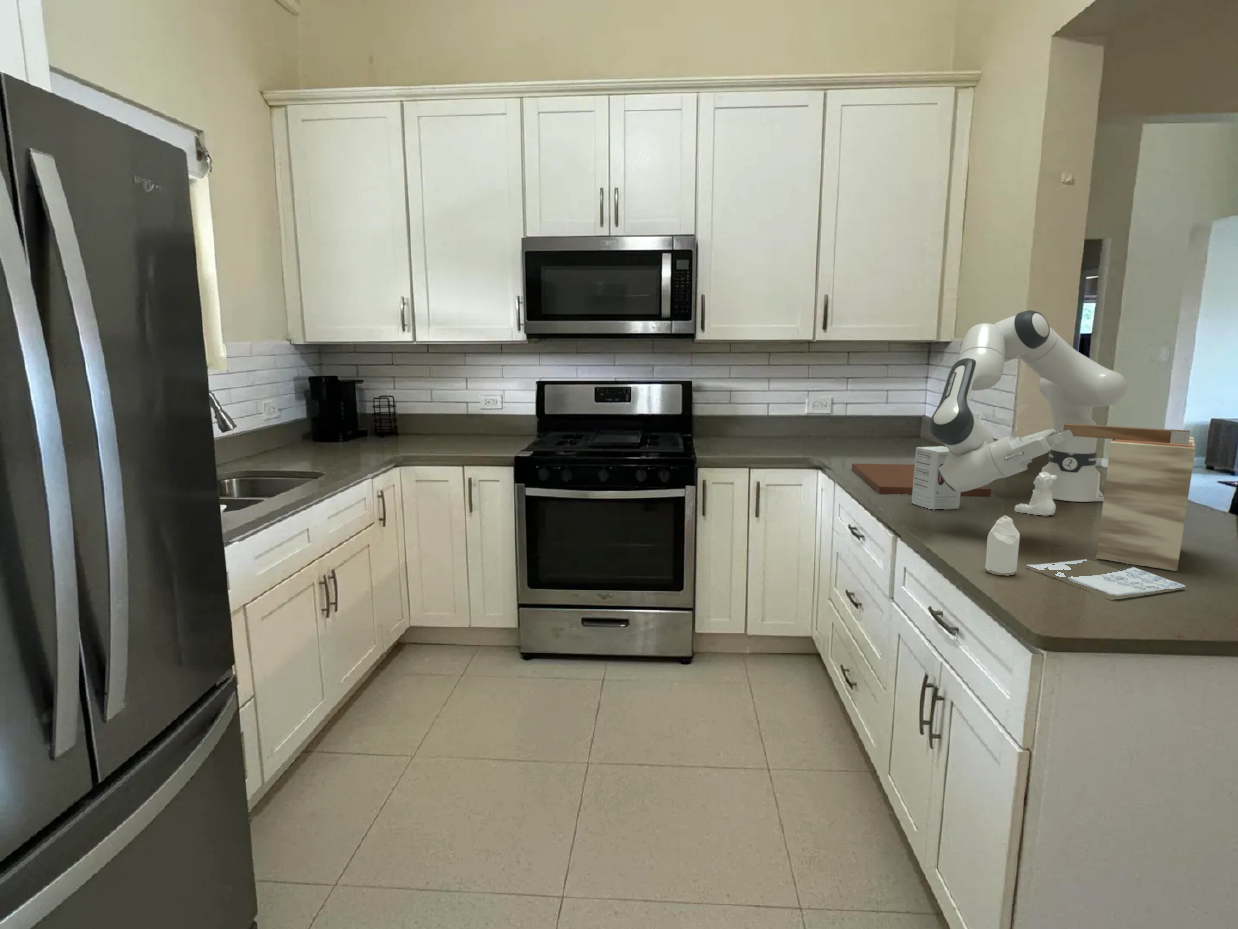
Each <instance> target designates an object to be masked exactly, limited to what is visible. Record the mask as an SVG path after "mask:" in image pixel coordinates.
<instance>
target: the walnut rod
mask: <svg viewBox="0 0 1238 929" xmlns="http://www.w3.org/2000/svg"><path fill="white" fill-rule="evenodd" d="M1066 430H1071V431H1072V433H1073V436H1077V437H1091V438H1097V439H1106V440H1107V439H1108V440H1113V439H1119V440H1133V441H1147V442H1161V443H1171V444H1185V445H1188V444H1189V437H1191V432H1190V431H1191V430H1185V429H1166V428H1150V427H1137V426H1136V427H1135V426H1133V427H1132V426H1120V425H1119V426H1118V425H1102V424H1097V425H1088V424H1072V423H1065V424H1064V430H1063V432H1064V431H1066Z"/></svg>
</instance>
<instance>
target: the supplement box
mask: <svg viewBox="0 0 1238 929" xmlns="http://www.w3.org/2000/svg"><path fill="white" fill-rule="evenodd" d="M948 453H949V449H948V448H947V447H946V446H945V445H944V446H943V445H940V446H921V447H920V446H917V447H915V458H914V465H915V468H914V480H913V491H912V495H911V504H912V503H913V505H916V506H919V507H922V508H924V507H925V508H924V509H927V508H928V510H930V509H933V510H932V511H935V510H934V509H944V510H954V509H957V510H958V509H960V502H961V496H960V495H961V492H955V491H953V490H952V489H951V488H950V487H948V485H947V484H946V483H945V481H944V480H943V479H942V477H941V475H940V472H939V468H940V467H941V466H942V465H943V464H944V463H945V461H946V459H947V456H948Z"/></svg>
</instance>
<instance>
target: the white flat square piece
mask: <svg viewBox="0 0 1238 929" xmlns="http://www.w3.org/2000/svg"><path fill="white" fill-rule="evenodd" d="M1087 559H1088V558H1085V559H1078V560H1071V561H1070V560H1069V561H1068V560H1067V561H1060V562H1050V563H1039V564H1026V565H1027V566H1030V567H1033V568H1036V569H1038V570H1045V569H1044V568H1047V567H1048V569H1049V570H1063V569H1064V570H1071V568H1070V567H1069V566H1067V565H1065V564H1077V563H1082V562H1083V561H1087ZM1052 564H1055V565H1052ZM1122 570H1123V571H1118V572H1112V573H1107V574H1101V575H1092V576H1079V577H1073V576H1071V577H1068V580H1070V581H1072V582H1074V583H1078V584H1081V585H1084V586H1087V587H1090V588H1093V589H1098V590H1100V591H1103V592H1105V593H1107V594H1109V595H1115V596H1122V595H1133V594H1142V593H1149V592H1155V591H1160V590H1164V589H1176V588H1181V589H1183V588H1182V587H1186V585H1184V584H1182V583H1180V582H1177V581H1174V580H1170V579H1167V578H1166V577H1164V576H1163V577H1162V576H1159V575H1156V574H1154V573H1151V572H1148V571H1145V570H1142V569H1139V568H1137V567H1135V566H1132V567H1130V568H1126V569H1122ZM1057 572H1058V571H1057ZM1059 574H1060V575H1059ZM1055 575H1056V576H1059V577H1066V576H1065V575H1064V573H1061V572H1058V573H1057V574H1055ZM1186 588H1187V587H1186Z"/></svg>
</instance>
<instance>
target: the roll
mask: <svg viewBox="0 0 1238 929" xmlns="http://www.w3.org/2000/svg"><path fill="white" fill-rule="evenodd" d="M1020 538H1021V535H1020V532H1019V531H1018V529H1017V528H1016V526H1015V524H1014V520H1013V518H1011V517H1009V516H1007V515H1002V516H1001V517H999V518H998V519H997V520H996V522H995V524H994V525H993V526H992V528H991V530H990V531H989V532H988V534H987V539H986V556H985V557H986V558H985V568H986V569H987V570H992V571H995V572H999V573H1012V572H1015V571H1016V572H1017V569H1018V568H1017V567H1018V558H1019V547H1020Z"/></svg>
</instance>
